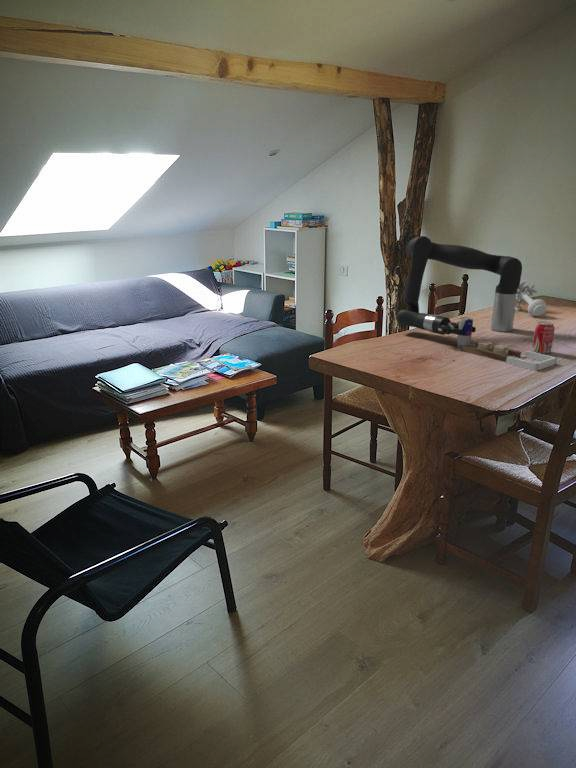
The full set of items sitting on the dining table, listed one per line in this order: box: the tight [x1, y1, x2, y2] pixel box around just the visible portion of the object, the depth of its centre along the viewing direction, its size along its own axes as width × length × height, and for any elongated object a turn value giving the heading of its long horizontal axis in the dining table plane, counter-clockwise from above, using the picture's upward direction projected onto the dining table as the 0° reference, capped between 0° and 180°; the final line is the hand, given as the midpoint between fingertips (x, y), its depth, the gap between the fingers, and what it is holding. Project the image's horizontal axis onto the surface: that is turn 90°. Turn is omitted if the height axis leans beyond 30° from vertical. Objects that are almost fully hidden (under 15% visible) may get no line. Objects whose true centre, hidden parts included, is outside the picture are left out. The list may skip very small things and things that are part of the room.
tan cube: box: [478, 340, 494, 352], centre depth 225 cm, size 4×4×4 cm
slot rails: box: [461, 341, 522, 362], centre depth 223 cm, size 11×19×2 cm, turn 38°
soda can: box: [532, 320, 555, 355], centre depth 224 cm, size 7×7×12 cm
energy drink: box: [456, 316, 474, 349], centre depth 231 cm, size 5×5×12 cm
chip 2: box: [492, 344, 510, 356], centre depth 220 cm, size 4×4×4 cm
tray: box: [505, 350, 558, 372], centre depth 210 cm, size 14×12×2 cm
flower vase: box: [515, 278, 547, 317], centre depth 295 cm, size 13×18×25 cm
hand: (468, 331), depth 230 cm, fingers open, 8 cm apart
